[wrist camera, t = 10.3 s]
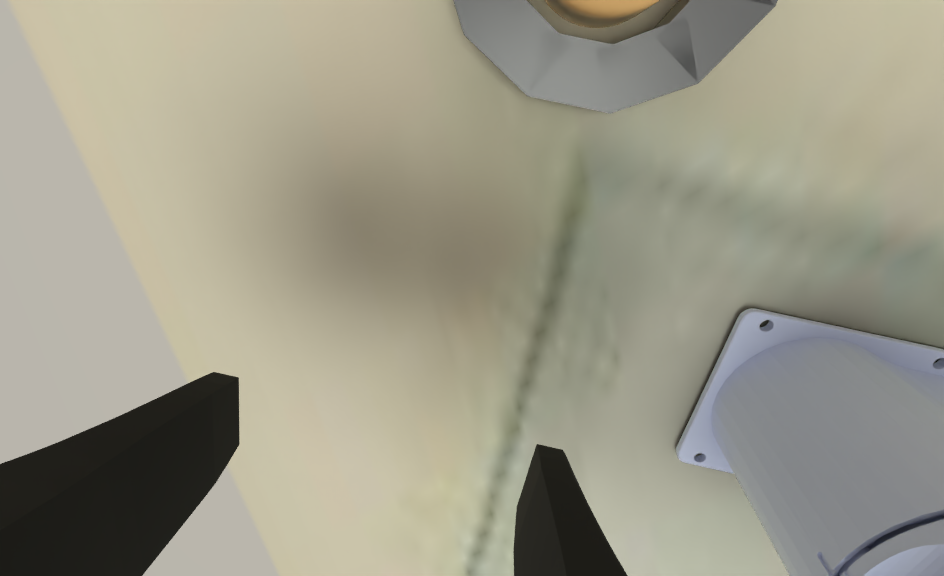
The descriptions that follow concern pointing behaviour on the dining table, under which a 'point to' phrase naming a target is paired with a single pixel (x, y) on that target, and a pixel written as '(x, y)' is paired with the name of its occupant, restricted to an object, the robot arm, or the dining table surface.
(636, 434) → the dining table surface
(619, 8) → the cap
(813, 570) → the robot arm
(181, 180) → the dining table surface
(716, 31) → the barrel ring
